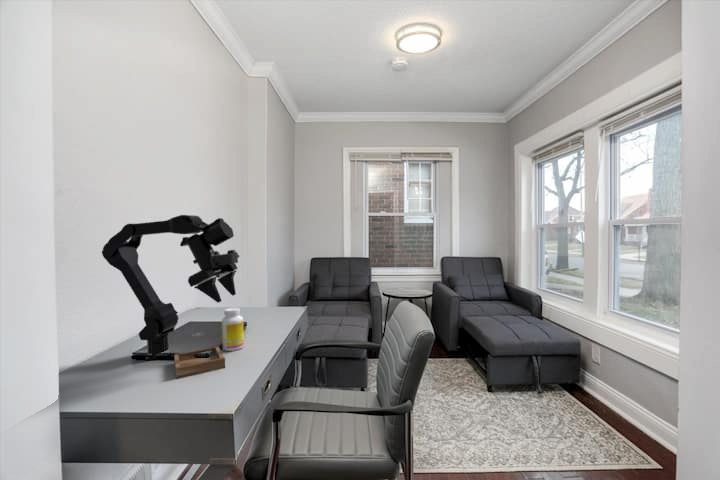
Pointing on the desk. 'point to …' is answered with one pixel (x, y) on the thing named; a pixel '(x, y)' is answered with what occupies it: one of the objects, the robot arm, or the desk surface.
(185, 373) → the walnut tray
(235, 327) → the supplement bottle
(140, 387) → the desk surface
